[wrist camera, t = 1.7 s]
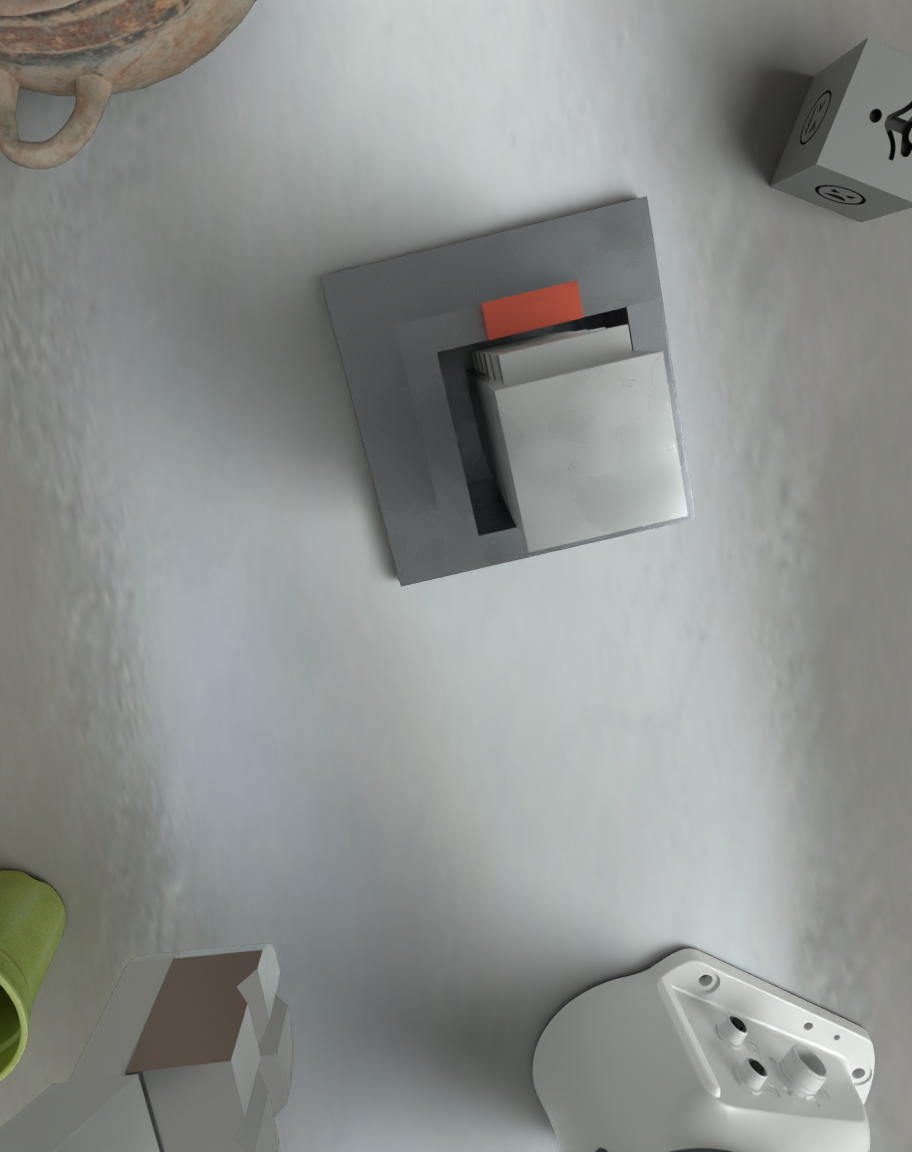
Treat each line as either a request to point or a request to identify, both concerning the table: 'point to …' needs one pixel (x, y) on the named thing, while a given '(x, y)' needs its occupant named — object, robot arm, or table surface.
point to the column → (578, 434)
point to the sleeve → (443, 351)
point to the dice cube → (854, 136)
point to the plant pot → (24, 955)
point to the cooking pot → (97, 58)
